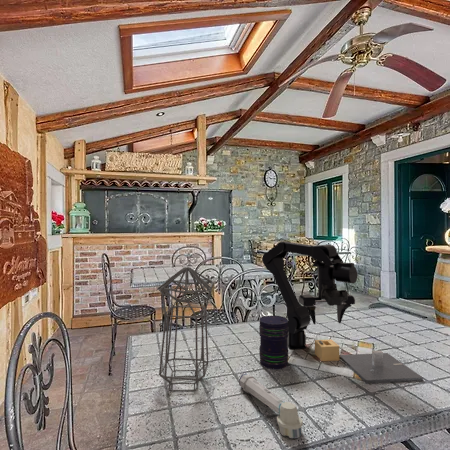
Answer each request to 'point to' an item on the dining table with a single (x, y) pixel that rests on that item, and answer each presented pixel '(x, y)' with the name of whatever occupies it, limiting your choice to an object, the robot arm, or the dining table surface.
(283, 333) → the dark purple barrel
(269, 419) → the dining table surface
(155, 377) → the dining table surface
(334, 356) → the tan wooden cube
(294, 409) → the toothbrush head
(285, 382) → the dining table surface
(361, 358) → the hub plate
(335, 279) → the robot arm
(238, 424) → the dining table surface
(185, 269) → the geometric lantern
